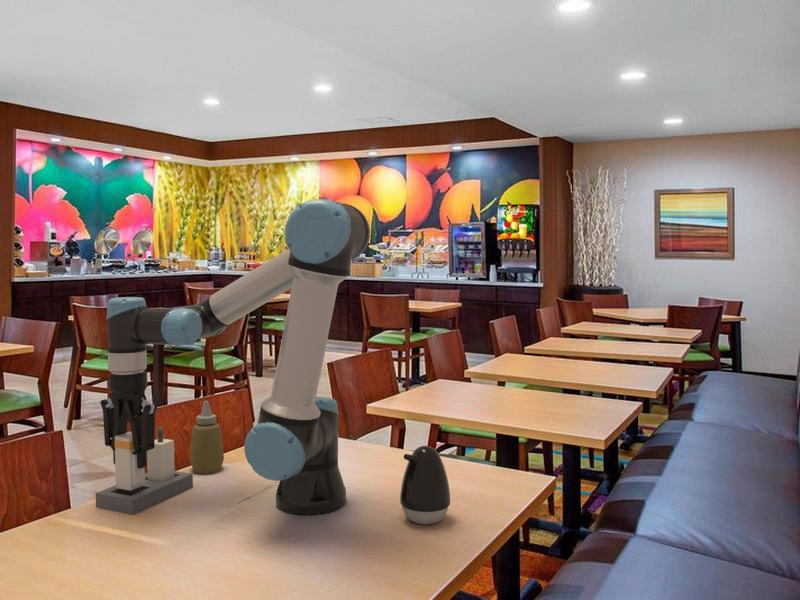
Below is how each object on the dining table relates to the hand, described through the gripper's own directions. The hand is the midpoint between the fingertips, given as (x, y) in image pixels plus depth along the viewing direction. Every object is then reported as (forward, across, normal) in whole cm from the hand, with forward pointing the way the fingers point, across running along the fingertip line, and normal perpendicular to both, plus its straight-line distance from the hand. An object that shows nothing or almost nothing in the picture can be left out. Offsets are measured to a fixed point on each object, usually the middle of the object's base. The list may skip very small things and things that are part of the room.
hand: (130, 481), depth 142 cm
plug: (+1, 0, 0) cm, 1 cm away
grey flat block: (+6, 0, -4) cm, 7 cm away
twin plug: (+5, 0, -9) cm, 10 cm away
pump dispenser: (+6, -59, -20) cm, 62 cm away
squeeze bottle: (+6, 0, -24) cm, 25 cm away
